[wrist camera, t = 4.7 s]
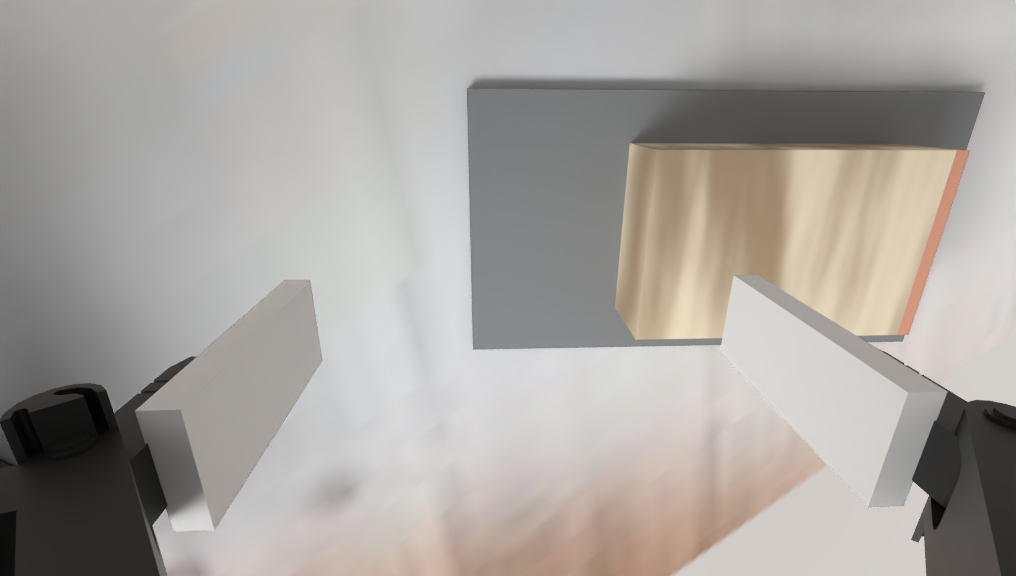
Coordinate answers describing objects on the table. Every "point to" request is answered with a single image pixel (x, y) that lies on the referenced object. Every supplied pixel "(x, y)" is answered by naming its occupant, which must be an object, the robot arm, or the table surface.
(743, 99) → the mat
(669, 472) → the table surface
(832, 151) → the block
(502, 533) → the table surface
